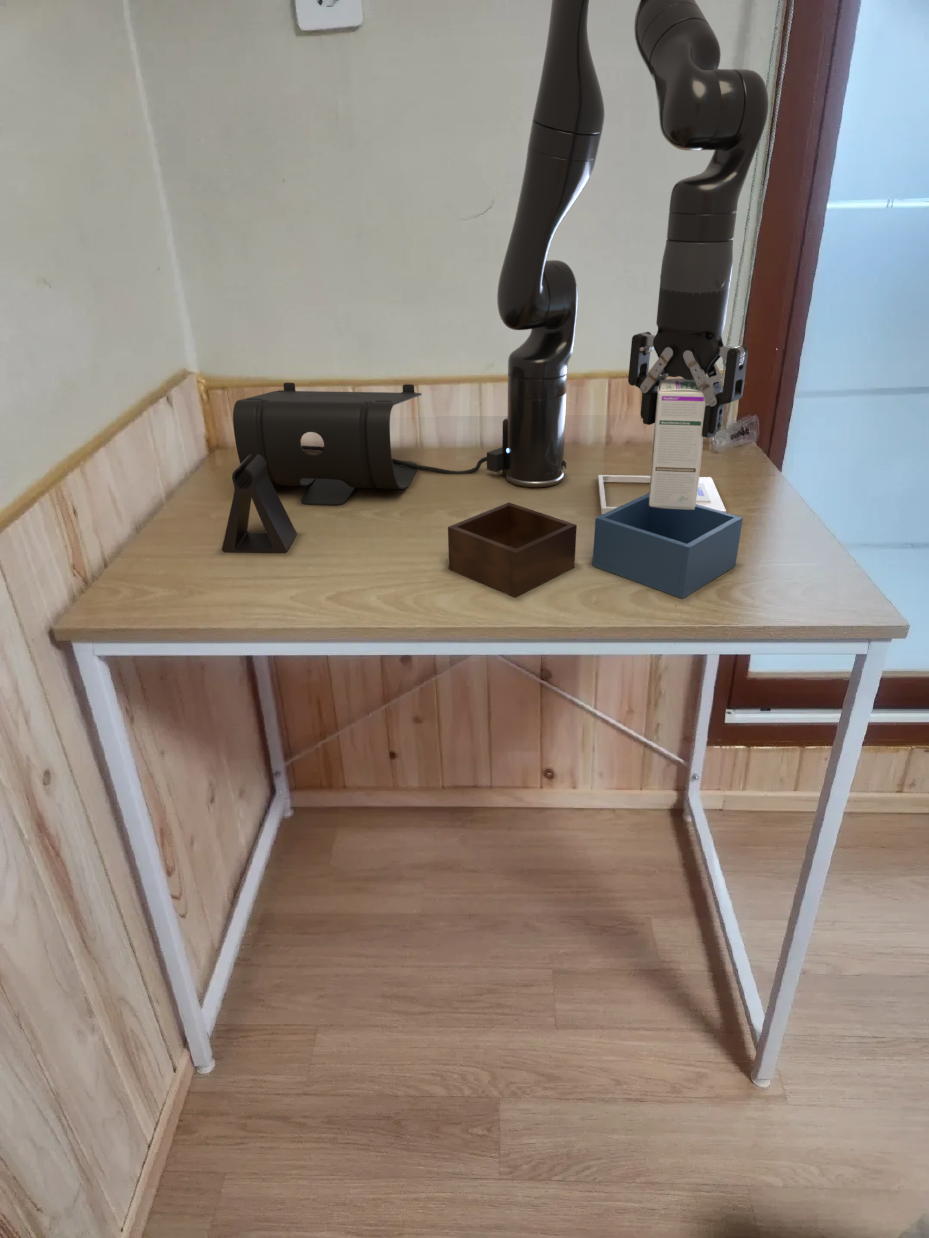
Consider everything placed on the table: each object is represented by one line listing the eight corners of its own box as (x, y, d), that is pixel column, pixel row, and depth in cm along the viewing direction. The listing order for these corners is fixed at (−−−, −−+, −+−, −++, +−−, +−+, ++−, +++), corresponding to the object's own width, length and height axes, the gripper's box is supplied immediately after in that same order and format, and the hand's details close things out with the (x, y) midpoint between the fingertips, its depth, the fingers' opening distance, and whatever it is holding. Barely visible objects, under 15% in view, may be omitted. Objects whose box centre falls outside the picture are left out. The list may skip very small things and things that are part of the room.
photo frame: (726, 510, 123) (601, 507, 125) (725, 517, 124) (601, 514, 125) (711, 476, 136) (598, 473, 137) (710, 482, 136) (597, 480, 138)
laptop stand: (238, 506, 131) (223, 406, 123) (284, 457, 151) (274, 369, 144) (400, 511, 128) (395, 409, 120) (425, 460, 148) (422, 371, 141)
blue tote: (592, 566, 110) (595, 517, 107) (647, 537, 118) (651, 491, 115) (682, 599, 102) (689, 547, 98) (735, 566, 110) (743, 517, 106)
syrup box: (696, 510, 103) (711, 391, 96) (646, 507, 104) (658, 389, 97) (694, 494, 108) (709, 379, 100) (647, 491, 109) (658, 377, 101)
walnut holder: (448, 569, 110) (447, 526, 107) (508, 542, 117) (508, 502, 114) (515, 597, 103) (516, 552, 100) (574, 567, 110) (576, 524, 107)
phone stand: (297, 535, 120) (287, 454, 114) (286, 553, 115) (275, 469, 109) (235, 534, 121) (222, 453, 115) (222, 552, 116) (207, 468, 110)
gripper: (771, 286, 91) (748, 434, 99) (658, 275, 100) (645, 412, 108) (736, 294, 86) (715, 449, 94) (621, 282, 95) (611, 425, 103)
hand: (678, 429), depth 101 cm, fingers closed on syrup box, 7 cm apart
